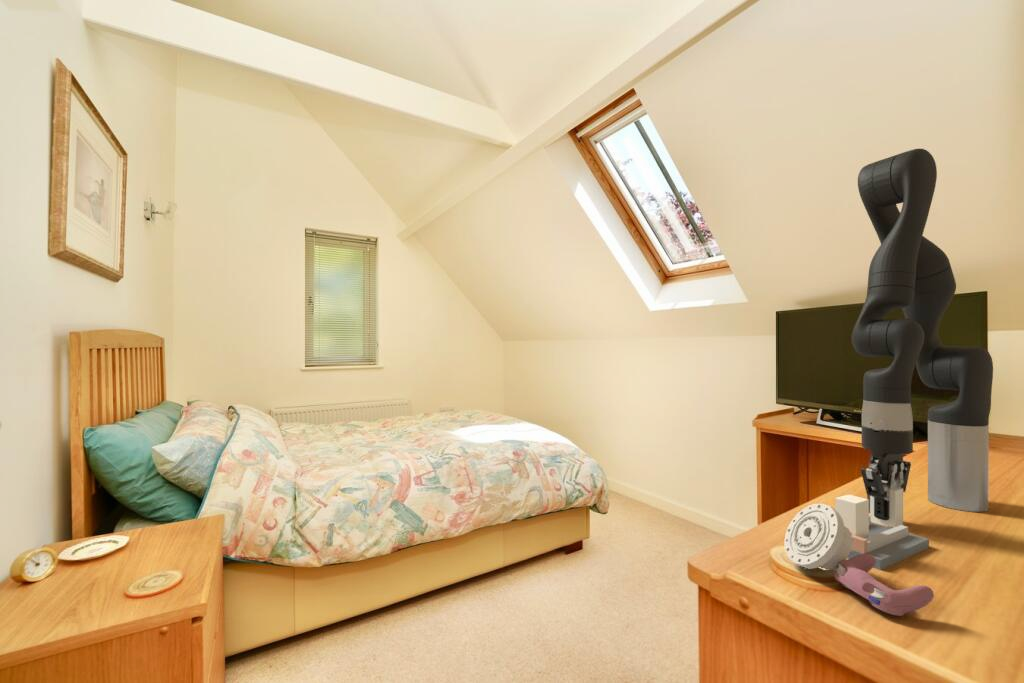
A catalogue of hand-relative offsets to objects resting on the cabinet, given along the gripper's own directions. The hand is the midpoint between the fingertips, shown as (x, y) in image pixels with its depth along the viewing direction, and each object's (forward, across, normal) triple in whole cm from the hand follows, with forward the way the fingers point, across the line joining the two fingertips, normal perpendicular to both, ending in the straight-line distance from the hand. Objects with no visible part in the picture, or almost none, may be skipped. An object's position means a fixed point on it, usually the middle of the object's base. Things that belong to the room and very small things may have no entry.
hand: (886, 516), depth 88 cm
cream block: (+1, 0, 0) cm, 1 cm away
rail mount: (+1, +14, +3) cm, 14 cm away
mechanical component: (+1, +31, +1) cm, 31 cm away
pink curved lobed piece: (0, +29, +14) cm, 32 cm away
